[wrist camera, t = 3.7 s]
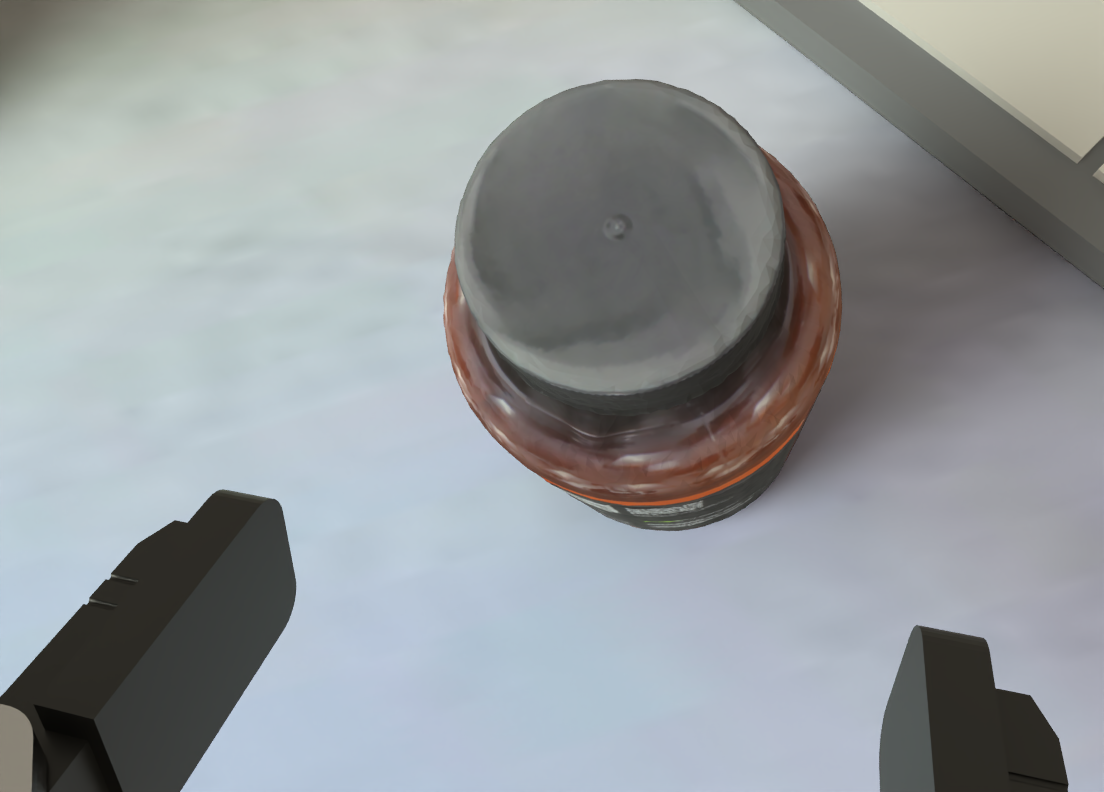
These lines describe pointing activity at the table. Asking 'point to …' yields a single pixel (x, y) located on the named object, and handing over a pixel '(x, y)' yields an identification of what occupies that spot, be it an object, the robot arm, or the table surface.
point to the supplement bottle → (641, 302)
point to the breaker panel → (980, 96)
